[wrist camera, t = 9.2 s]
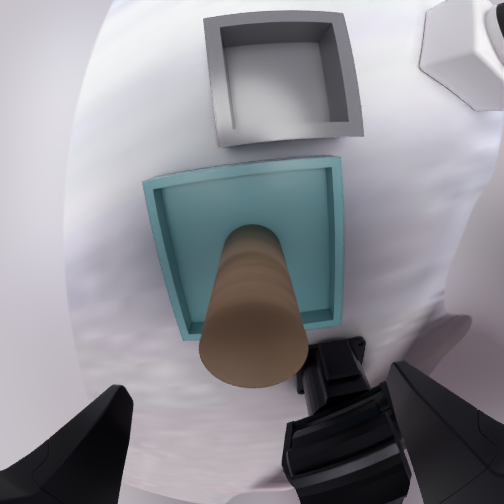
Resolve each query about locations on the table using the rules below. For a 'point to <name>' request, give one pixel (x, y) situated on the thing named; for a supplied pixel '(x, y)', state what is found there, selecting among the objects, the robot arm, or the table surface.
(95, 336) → the table surface
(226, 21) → the grey square open box
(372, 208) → the table surface
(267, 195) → the tray
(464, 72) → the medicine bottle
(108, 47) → the table surface
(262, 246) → the walnut dowel
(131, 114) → the table surface
